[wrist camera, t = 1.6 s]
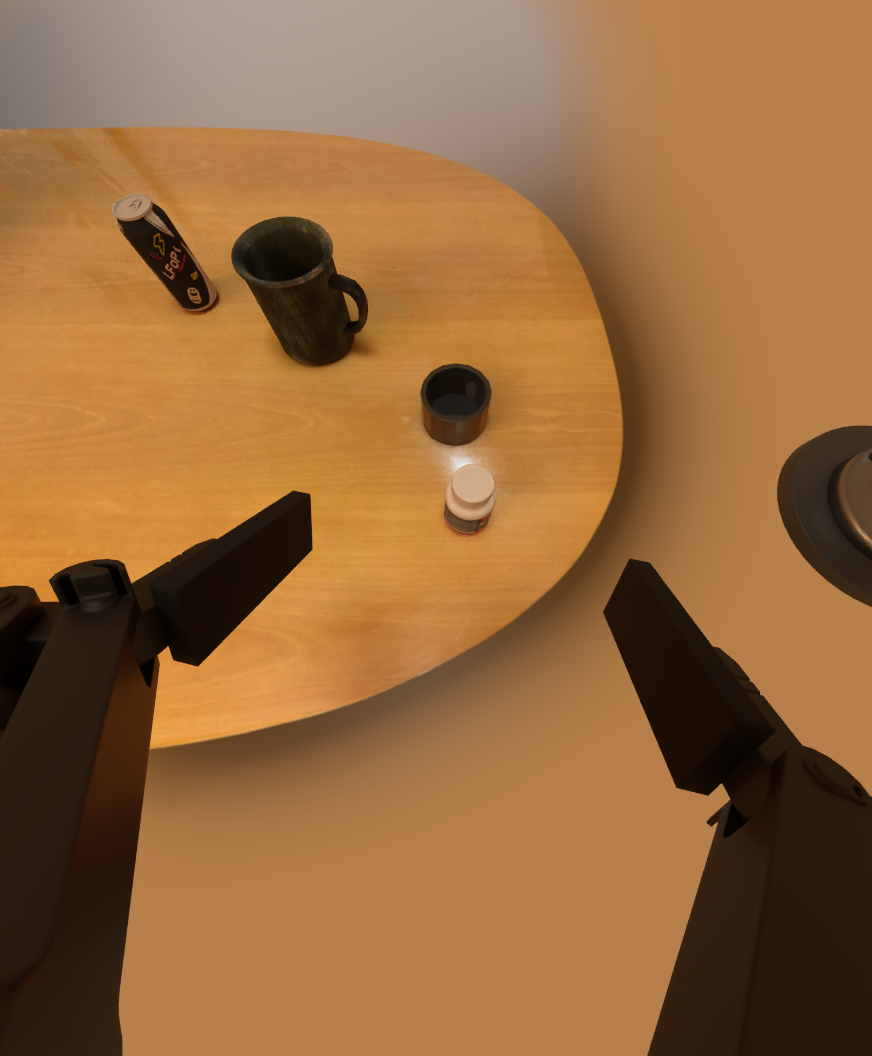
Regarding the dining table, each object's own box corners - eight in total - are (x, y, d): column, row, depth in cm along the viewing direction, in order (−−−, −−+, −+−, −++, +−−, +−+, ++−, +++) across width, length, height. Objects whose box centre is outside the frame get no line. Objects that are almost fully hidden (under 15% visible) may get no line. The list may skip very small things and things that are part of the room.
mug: (299, 304, 50) (257, 207, 39) (390, 325, 49) (374, 231, 37) (267, 360, 47) (211, 272, 36) (363, 384, 46) (337, 300, 34)
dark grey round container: (490, 397, 45) (496, 369, 40) (480, 450, 42) (484, 427, 37) (430, 387, 45) (429, 358, 40) (417, 439, 43) (413, 415, 38)
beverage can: (225, 290, 51) (163, 192, 40) (210, 318, 50) (140, 224, 38) (192, 284, 52) (121, 186, 41) (175, 311, 50) (96, 217, 39)
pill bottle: (482, 542, 39) (493, 516, 30) (438, 529, 39) (437, 501, 31) (493, 501, 40) (507, 466, 32) (451, 490, 41) (454, 452, 32)
